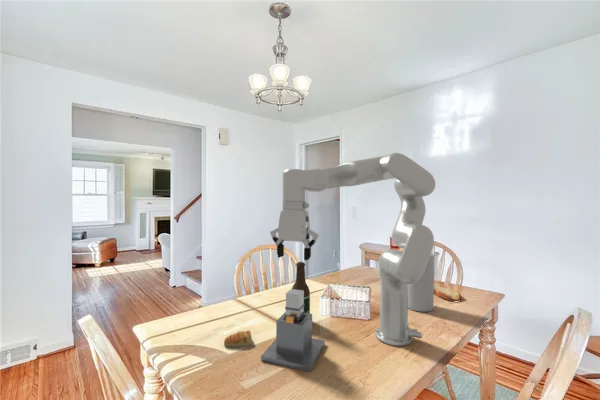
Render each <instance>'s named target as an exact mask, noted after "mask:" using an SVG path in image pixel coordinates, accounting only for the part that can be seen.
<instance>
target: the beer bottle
mask: <svg viewBox="0 0 600 400" xmlns="http://www.w3.org/2000/svg"><path fill="white" fill-rule="evenodd" d="M295 266H296V275H295V282H294V283H293V285H292V286H291V289H296V290H303V291H304V304H305V305H304V313H309V314H311V313H310V312H311V307H310V306H311V291H310V288H309V286H308V284H307V283H306V282H307V281H306V270H305V267H306V262H304V261H297V262H296V265H295Z"/></svg>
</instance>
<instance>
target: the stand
mask: <svg viewBox="0 0 600 400" xmlns="http://www.w3.org/2000/svg"><path fill="white" fill-rule="evenodd" d="M285 315H286V311H285V312H284V313H283V314H282V315H281V316H280V317H279V318H278V319H277V320H276V323H275V324H276V328H275V329H276V330H275V331H276V335H275V336H276V338H275V339H274V340H273V342H272V343H271V344H270V345H269V347H268V348H267V349H265V351H264V352H263V353H262V354H261V355H260V360H261V361H262V362H266V363H269V364H274V365H279V366H282V367H283V366H284V367H286V368H292V369H295V370H299V371H304V372H309V373H311V372H312V370H313V368H314V367H315V364H316V362H317V360H318V359H319V356H320V354H322V351H323V349H324V348H325V345H326V341H325V340H324V339H318V338H315V337H313V313H310V314H309V313H304V319H303V320H302V321H301V322H295V317H292V316H287V317H285Z"/></svg>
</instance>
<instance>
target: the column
mask: <svg viewBox="0 0 600 400" xmlns="http://www.w3.org/2000/svg"><path fill="white" fill-rule="evenodd" d="M304 305H305V304H304V291H303V290H296V289H292V288H290V289H289V290H288V291H286V293H285V307H284V310H285V312H286V315H285V317H287V316H292V317H295V322H301V321H302V320H303V319H304Z"/></svg>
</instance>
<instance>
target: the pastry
mask: <svg viewBox="0 0 600 400" xmlns="http://www.w3.org/2000/svg"><path fill="white" fill-rule="evenodd" d="M251 333H252V332H251V330H249V329H247V330H245V331H243V330H242V331H237V332H236V333H234V334H231V335H229V336H226V338H224V342H223V343H224V346H226V347H228V348H243V347H244V348H245V347H249V346H251V345H252V344H253V339H252V334H251Z"/></svg>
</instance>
